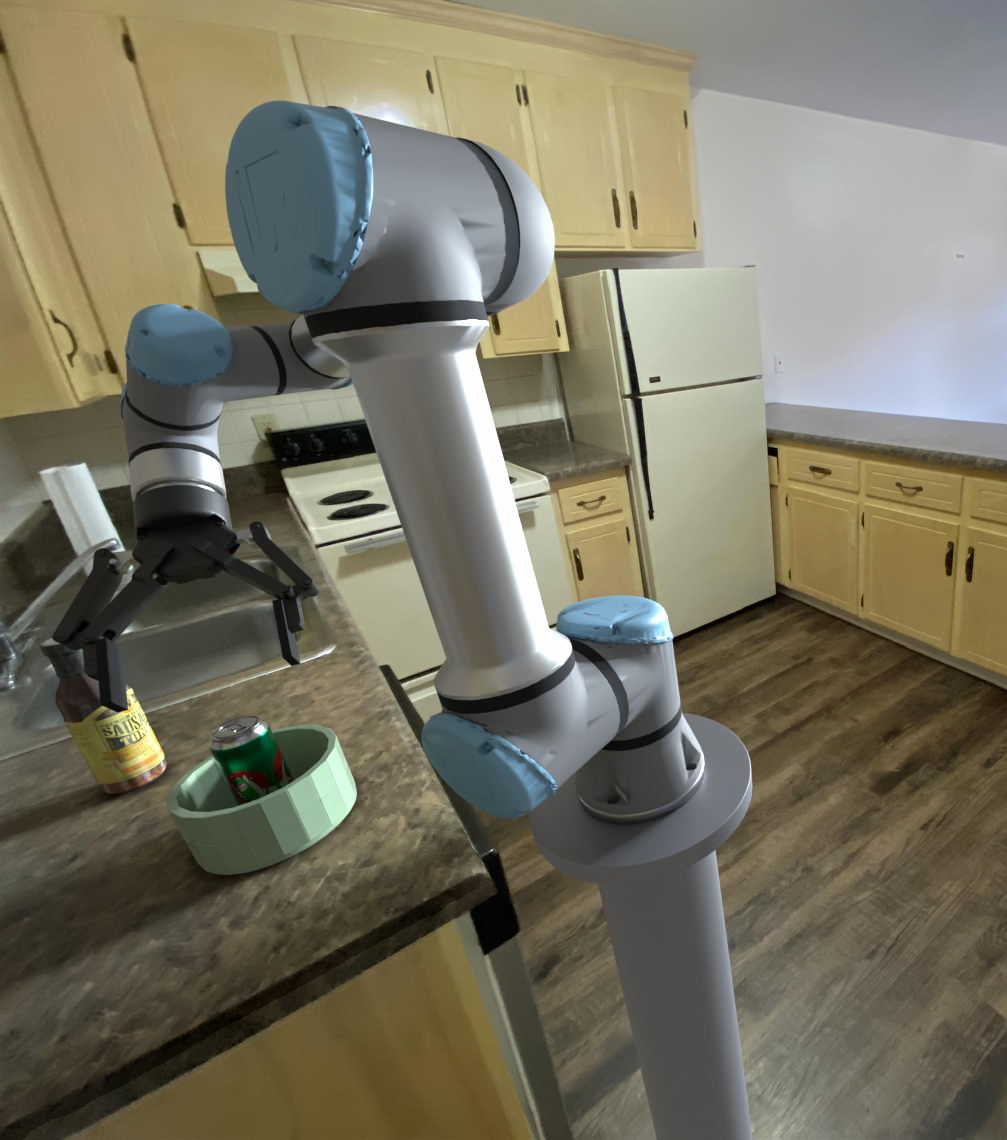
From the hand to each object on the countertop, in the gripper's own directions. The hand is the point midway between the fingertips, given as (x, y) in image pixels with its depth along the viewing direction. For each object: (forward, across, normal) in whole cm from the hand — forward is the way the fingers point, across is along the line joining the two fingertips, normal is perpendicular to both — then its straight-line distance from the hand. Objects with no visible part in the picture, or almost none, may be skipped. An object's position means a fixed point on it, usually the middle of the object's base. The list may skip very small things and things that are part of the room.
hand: (207, 683), depth 60 cm
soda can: (+11, 0, -15) cm, 19 cm away
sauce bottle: (-2, +17, -30) cm, 34 cm away
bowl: (+12, 0, -15) cm, 19 cm away
